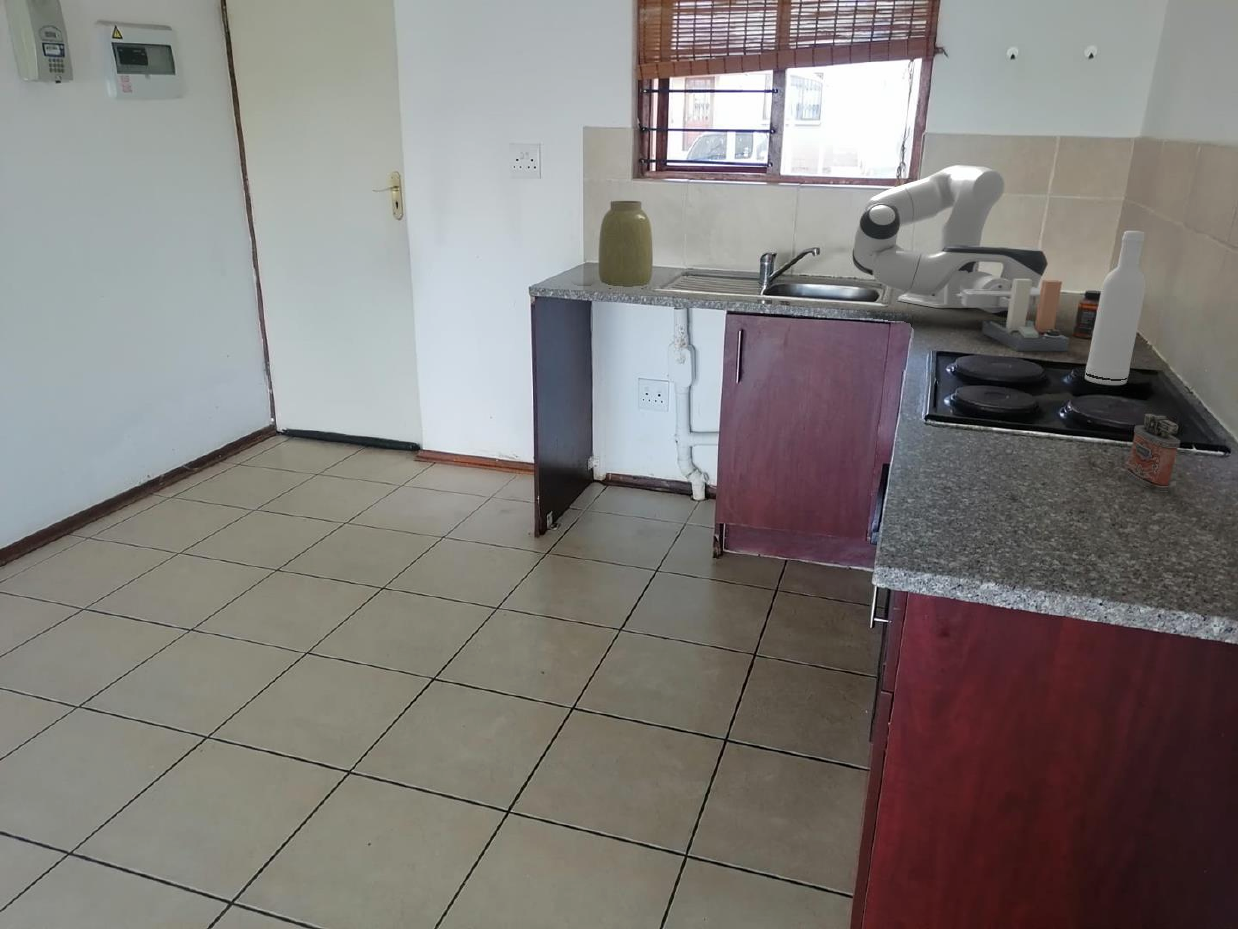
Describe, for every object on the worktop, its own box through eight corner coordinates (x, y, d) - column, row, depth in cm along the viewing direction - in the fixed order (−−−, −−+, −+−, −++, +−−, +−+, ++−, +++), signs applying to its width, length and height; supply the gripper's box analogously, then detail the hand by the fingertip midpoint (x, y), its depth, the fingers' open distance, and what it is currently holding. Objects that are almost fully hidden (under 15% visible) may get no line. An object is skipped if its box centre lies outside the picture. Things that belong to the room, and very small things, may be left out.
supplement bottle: (1102, 339, 224) (1111, 293, 220) (1076, 338, 225) (1084, 292, 221) (1095, 334, 229) (1104, 289, 225) (1070, 333, 230) (1078, 288, 226)
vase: (593, 285, 297) (593, 200, 288) (644, 283, 301) (645, 199, 292) (605, 294, 281) (605, 204, 272) (658, 292, 285) (660, 203, 276)
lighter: (1119, 472, 137) (1132, 409, 133) (1140, 471, 137) (1154, 408, 134) (1152, 492, 129) (1167, 425, 126) (1175, 491, 130) (1190, 425, 126)
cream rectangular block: (1005, 328, 220) (1013, 278, 216) (1019, 328, 220) (1027, 278, 216) (1009, 330, 218) (1017, 280, 214) (1024, 330, 218) (1032, 280, 214)
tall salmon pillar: (1034, 330, 218) (1042, 280, 214) (1048, 330, 218) (1057, 280, 214) (1038, 332, 216) (1047, 281, 212) (1053, 332, 216) (1061, 281, 212)
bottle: (1123, 377, 189) (1153, 230, 179) (1130, 387, 182) (1161, 234, 172) (1081, 374, 192) (1108, 228, 181) (1086, 383, 185) (1115, 232, 174)
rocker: (1018, 330, 214) (1019, 326, 214) (1030, 330, 214) (1032, 326, 214) (1024, 337, 211) (1025, 333, 210) (1037, 337, 211) (1038, 333, 210)
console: (981, 332, 231) (984, 314, 230) (1028, 332, 232) (1031, 315, 230) (1016, 351, 212) (1019, 332, 210) (1067, 351, 212) (1070, 332, 210)
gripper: (954, 281, 230) (975, 291, 217) (1035, 282, 230) (1060, 291, 217) (951, 306, 232) (971, 317, 219) (1031, 307, 232) (1055, 317, 219)
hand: (1016, 304), depth 218 cm, fingers closed, pressing on cream rectangular block
